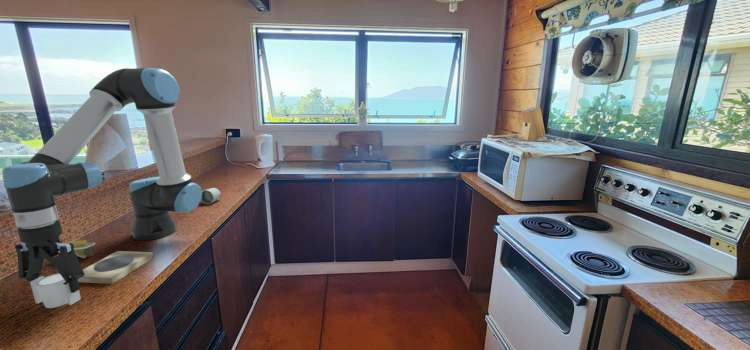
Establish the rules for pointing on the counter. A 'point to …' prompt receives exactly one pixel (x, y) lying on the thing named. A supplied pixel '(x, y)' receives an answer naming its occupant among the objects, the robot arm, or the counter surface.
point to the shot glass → (52, 291)
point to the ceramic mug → (210, 195)
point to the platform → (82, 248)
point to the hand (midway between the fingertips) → (58, 301)
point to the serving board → (114, 267)
